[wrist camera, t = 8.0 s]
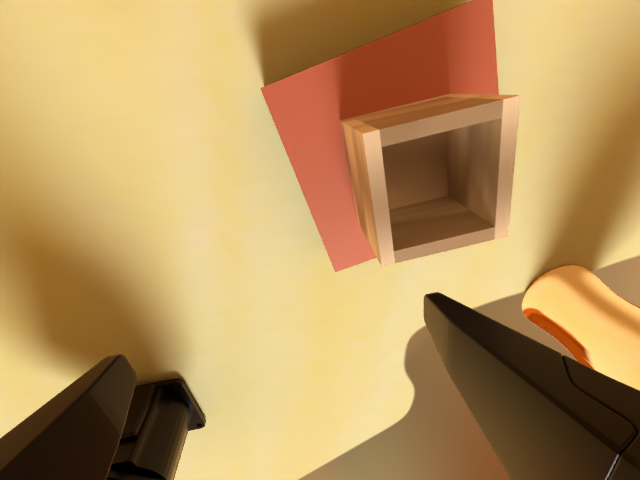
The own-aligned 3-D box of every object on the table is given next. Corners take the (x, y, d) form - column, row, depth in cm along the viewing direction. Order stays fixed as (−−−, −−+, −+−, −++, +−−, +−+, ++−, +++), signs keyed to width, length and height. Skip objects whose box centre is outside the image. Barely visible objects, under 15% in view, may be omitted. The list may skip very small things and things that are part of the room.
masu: (451, 198, 17) (508, 236, 13) (357, 221, 17) (381, 266, 13) (450, 93, 15) (520, 95, 10) (339, 120, 15) (362, 133, 10)
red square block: (474, 192, 21) (506, 210, 18) (328, 246, 22) (335, 272, 19) (452, 11, 16) (491, -8, 13) (265, 88, 17) (260, 88, 14)
